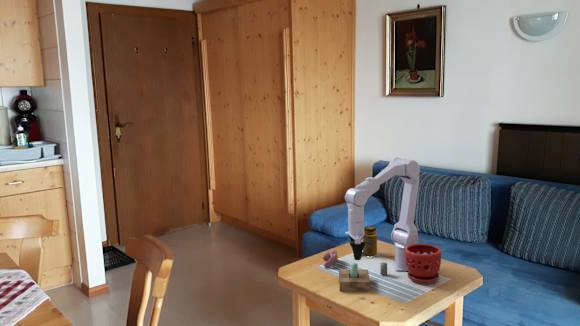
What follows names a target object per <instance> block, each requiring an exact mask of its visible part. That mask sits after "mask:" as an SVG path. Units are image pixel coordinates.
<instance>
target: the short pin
mask: <svg viewBox="0 0 580 326" xmlns="http://www.w3.org/2000/svg"><path fill="white" fill-rule="evenodd" d="M379 268H380V270H379V271H380V274H381V275H382V277H387V276H388V263H387V262H380V267H379ZM381 275H380V276H381Z"/></svg>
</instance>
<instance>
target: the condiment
mask: <svg viewBox="0 0 580 326" xmlns="http://www.w3.org/2000/svg"><path fill="white" fill-rule="evenodd" d="M364 232H365V235H364V236H363V237H362V242H365V246H364V248H363V251H362V257H361V258H366V259H369V260H370V259H373V258H374V257H377V256H378V255H381V252H378V234H377V227H376V226H374V225H373V226H372V225H366V226H364ZM367 256H369V257H367ZM371 256H373V257H371Z"/></svg>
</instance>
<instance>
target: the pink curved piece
mask: <svg viewBox="0 0 580 326" xmlns="http://www.w3.org/2000/svg"><path fill="white" fill-rule="evenodd" d="M322 260H323V261H325V262H324V264H323V267H324V268H325V269H327V268H328V269H329V268H331V267H333V266H334V264H336V263H337V262H339V258H338V251H337V249H334V248H331V249H329V251H328V252H327V253H325V254H323V256H322Z"/></svg>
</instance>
